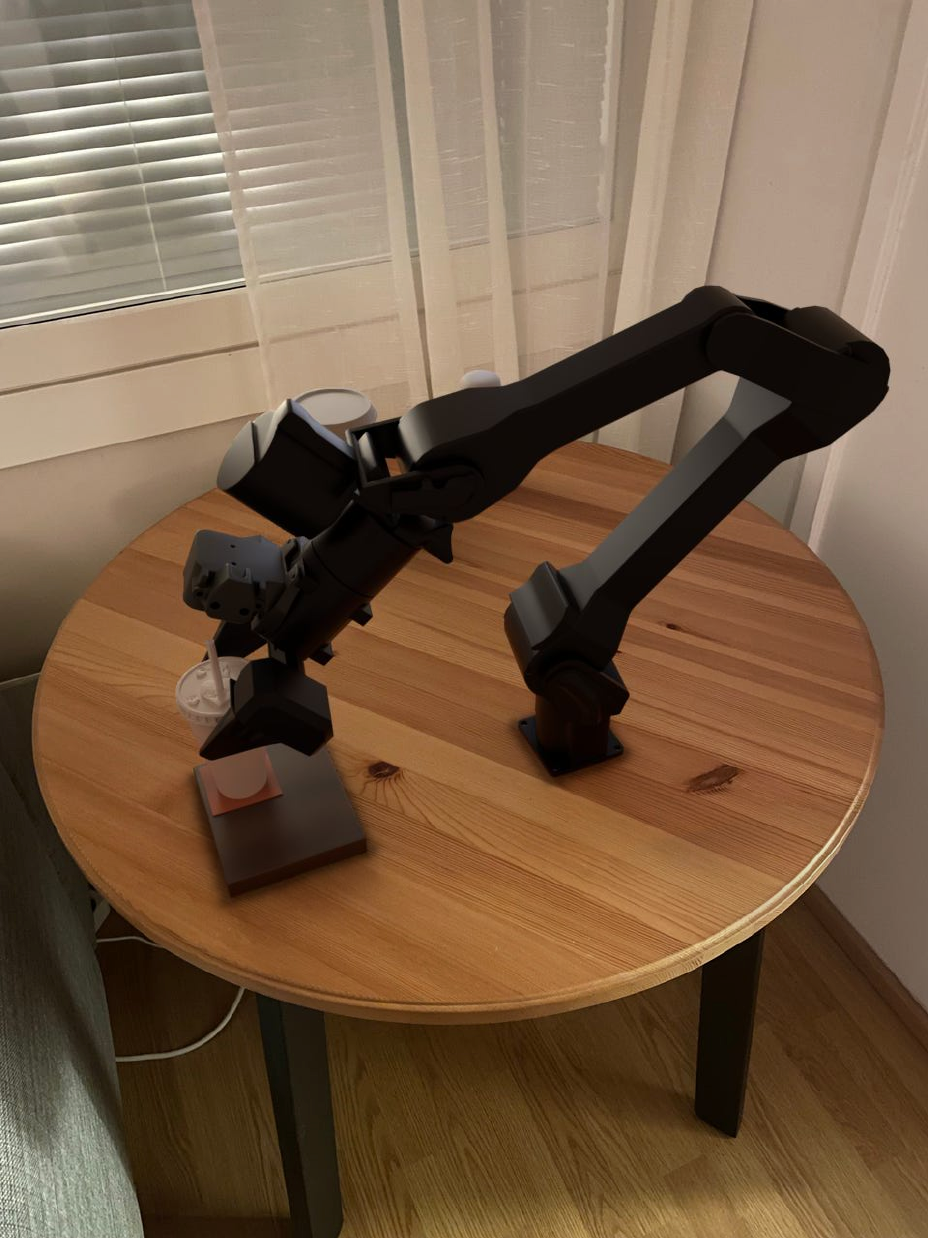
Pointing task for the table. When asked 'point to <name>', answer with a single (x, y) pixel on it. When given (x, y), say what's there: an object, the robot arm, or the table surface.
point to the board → (282, 821)
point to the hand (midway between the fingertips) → (204, 713)
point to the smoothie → (204, 707)
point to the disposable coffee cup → (338, 408)
